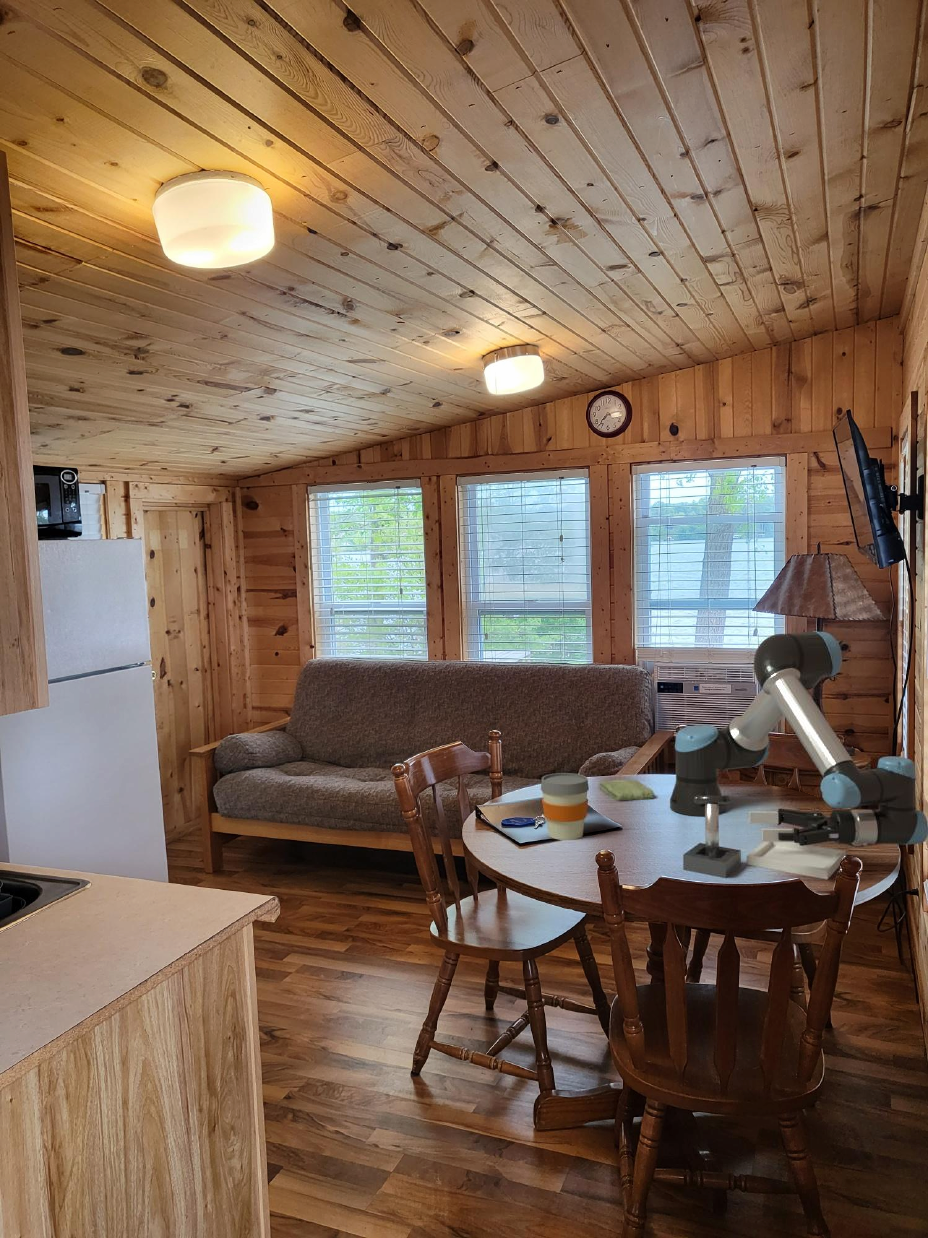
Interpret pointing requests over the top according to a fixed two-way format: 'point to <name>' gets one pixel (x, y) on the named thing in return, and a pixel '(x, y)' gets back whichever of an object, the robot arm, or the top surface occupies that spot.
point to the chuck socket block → (712, 861)
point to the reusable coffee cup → (565, 804)
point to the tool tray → (797, 858)
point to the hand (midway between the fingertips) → (755, 826)
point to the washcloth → (626, 790)
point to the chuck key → (712, 822)
